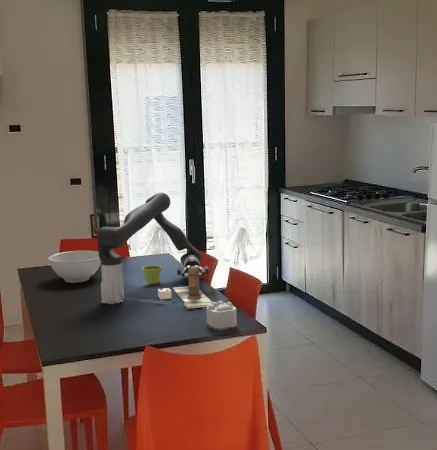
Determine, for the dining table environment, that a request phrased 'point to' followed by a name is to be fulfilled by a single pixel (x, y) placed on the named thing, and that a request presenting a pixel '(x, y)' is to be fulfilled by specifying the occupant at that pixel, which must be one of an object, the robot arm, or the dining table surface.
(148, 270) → the plant pot
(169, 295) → the die
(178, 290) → the game board
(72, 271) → the decorative bowl
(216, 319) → the lumpy-topped squat cylinder
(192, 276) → the pawn
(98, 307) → the dining table surface
